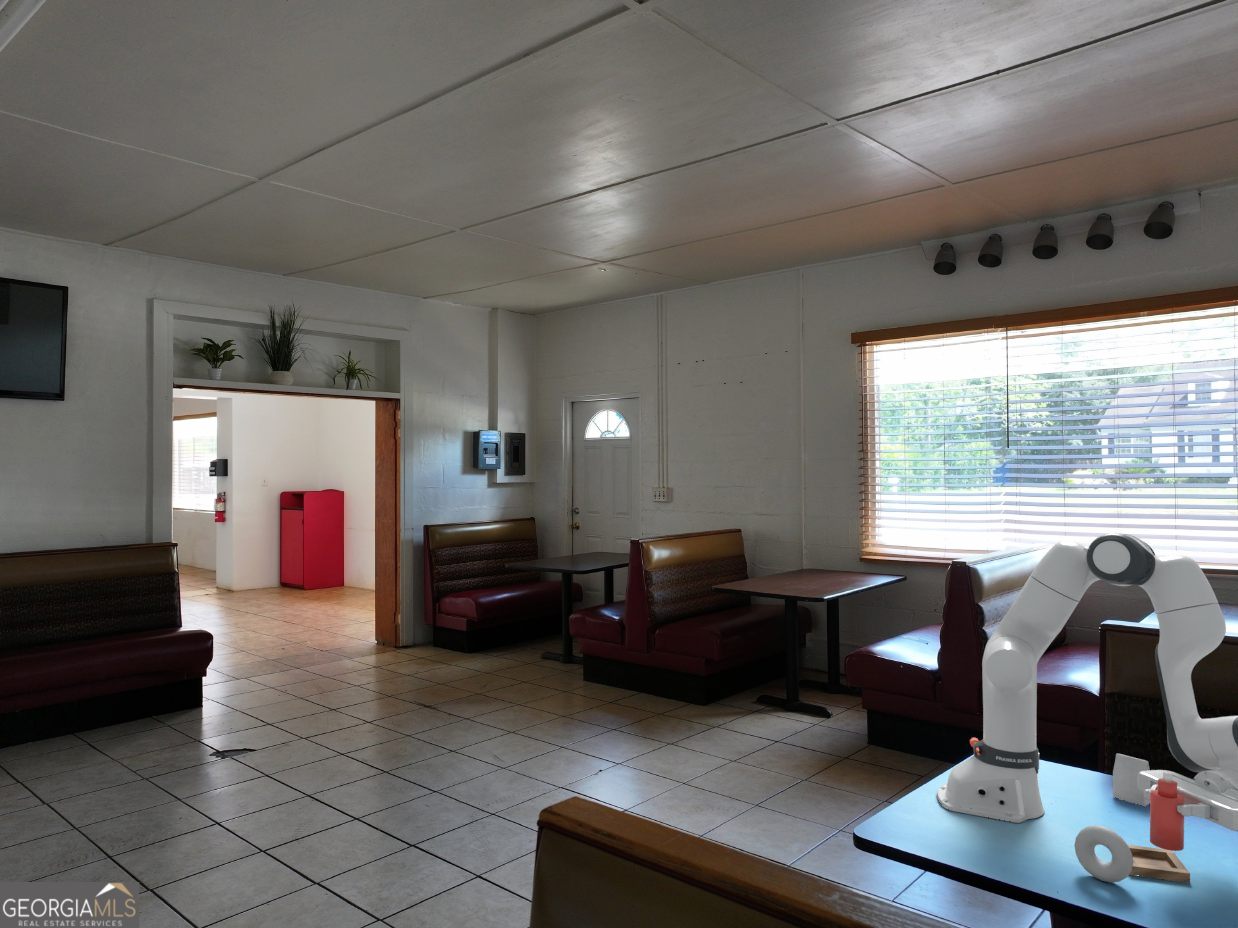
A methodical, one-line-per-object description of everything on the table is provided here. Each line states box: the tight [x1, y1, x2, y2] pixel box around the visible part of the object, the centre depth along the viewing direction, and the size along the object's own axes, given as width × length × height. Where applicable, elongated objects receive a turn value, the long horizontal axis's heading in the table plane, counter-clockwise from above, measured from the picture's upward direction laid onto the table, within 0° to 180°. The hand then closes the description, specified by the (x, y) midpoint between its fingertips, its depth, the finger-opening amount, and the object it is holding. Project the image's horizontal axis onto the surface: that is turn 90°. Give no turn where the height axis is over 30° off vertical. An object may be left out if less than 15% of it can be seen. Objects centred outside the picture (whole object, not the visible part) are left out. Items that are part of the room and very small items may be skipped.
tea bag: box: [1112, 753, 1150, 807], centre depth 194 cm, size 4×7×10 cm, turn 38°
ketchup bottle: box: [1149, 772, 1185, 852], centre depth 152 cm, size 5×5×13 cm
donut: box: [1074, 824, 1133, 884], centre depth 156 cm, size 10×4×10 cm, turn 39°
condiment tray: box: [1127, 844, 1191, 884], centre depth 162 cm, size 10×10×2 cm
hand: (1163, 803), depth 152 cm, fingers closed on ketchup bottle, 5 cm apart
